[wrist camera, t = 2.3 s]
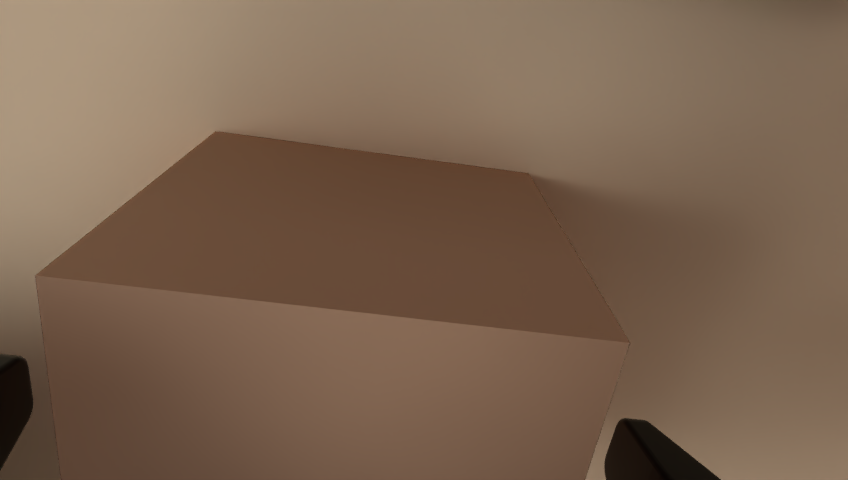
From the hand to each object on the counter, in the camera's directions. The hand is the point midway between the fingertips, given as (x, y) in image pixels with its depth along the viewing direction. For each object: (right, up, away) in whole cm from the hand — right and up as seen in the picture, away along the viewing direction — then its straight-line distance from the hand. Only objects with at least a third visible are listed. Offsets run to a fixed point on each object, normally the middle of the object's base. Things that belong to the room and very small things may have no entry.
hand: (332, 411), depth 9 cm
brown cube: (0, +2, +4) cm, 4 cm away
